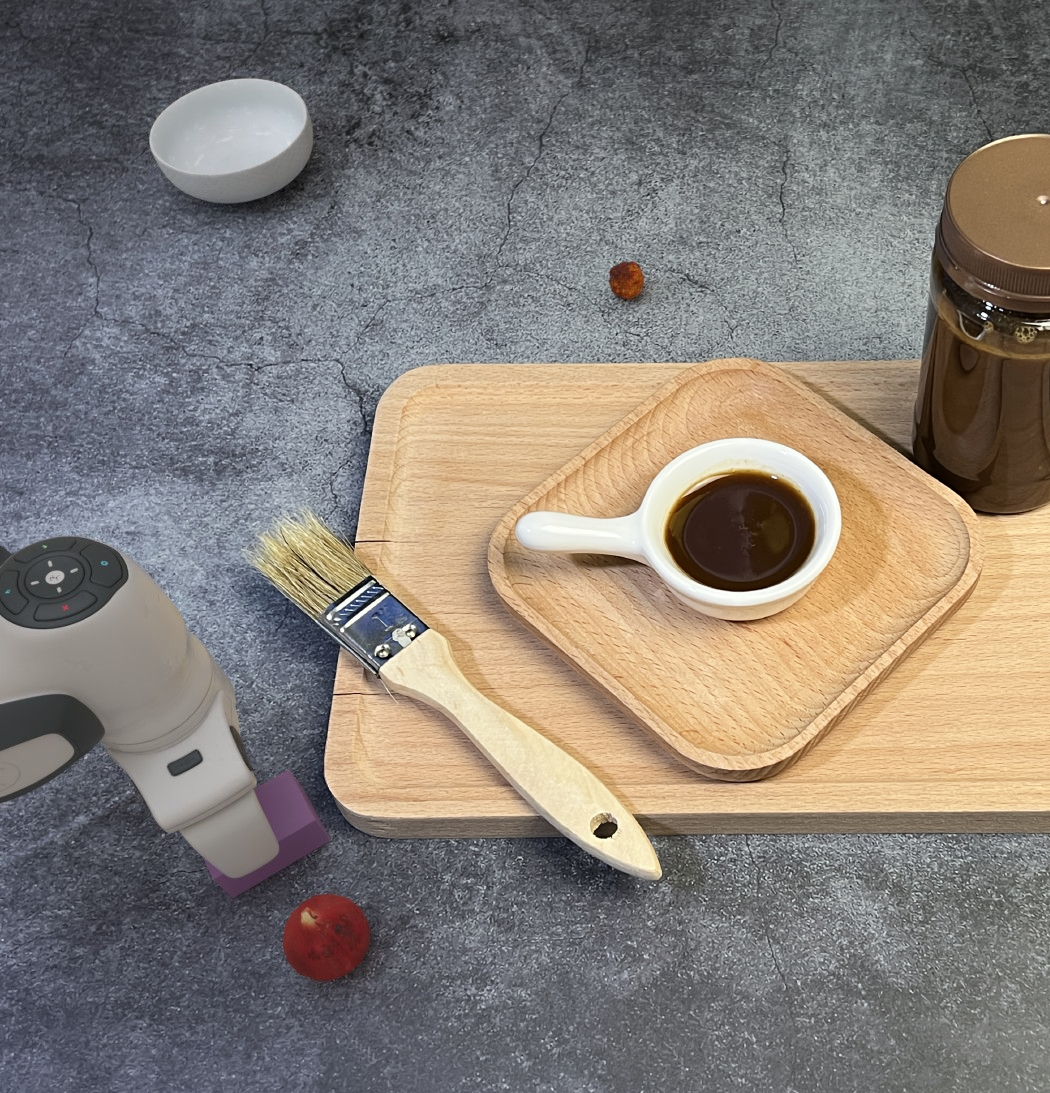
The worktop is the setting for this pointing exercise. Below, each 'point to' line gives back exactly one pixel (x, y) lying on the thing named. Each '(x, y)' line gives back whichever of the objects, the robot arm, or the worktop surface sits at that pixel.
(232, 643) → the worktop surface
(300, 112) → the cereal bowl
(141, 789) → the robot arm
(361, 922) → the red rounded lump
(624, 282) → the meatball
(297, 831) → the block
